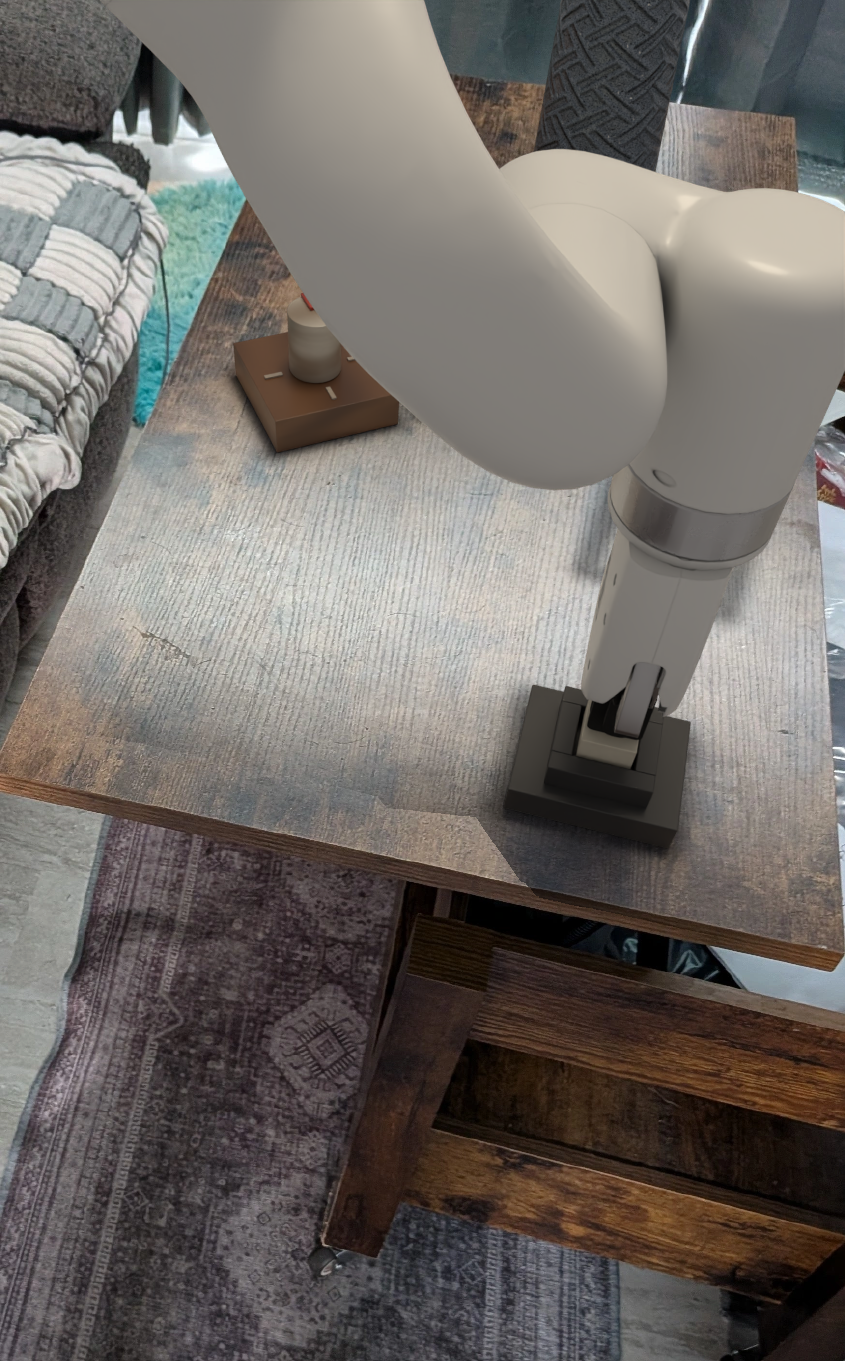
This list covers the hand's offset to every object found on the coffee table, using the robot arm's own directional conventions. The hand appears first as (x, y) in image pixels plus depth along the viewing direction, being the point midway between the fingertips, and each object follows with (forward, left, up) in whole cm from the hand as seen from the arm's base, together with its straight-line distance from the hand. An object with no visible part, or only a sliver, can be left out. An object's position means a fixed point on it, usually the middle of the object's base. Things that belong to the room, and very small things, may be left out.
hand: (615, 723), depth 63 cm
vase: (+34, +61, -6) cm, 70 cm away
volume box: (-4, +39, -5) cm, 40 cm away
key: (0, 0, -2) cm, 2 cm away
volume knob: (-4, +39, -2) cm, 40 cm away
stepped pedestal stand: (0, 0, -5) cm, 5 cm away
